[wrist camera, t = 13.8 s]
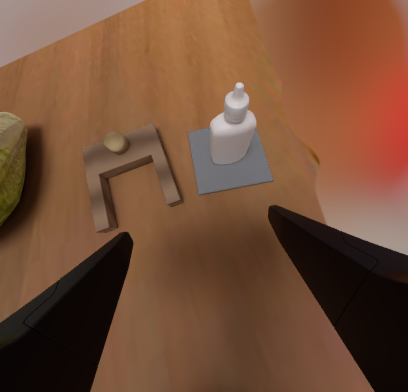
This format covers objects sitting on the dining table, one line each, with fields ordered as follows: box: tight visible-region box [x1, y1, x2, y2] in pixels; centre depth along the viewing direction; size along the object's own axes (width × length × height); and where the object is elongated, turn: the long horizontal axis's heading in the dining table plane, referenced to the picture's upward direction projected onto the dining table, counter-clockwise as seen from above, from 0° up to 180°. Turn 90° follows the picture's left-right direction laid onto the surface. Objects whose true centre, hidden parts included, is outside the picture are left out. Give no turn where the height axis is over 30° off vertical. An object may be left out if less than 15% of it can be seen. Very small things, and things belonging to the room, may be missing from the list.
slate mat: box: [188, 128, 273, 195], centre depth 25 cm, size 12×12×1 cm
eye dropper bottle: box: [210, 83, 256, 165], centre depth 19 cm, size 4×6×12 cm
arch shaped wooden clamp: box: [82, 123, 183, 233], centre depth 23 cm, size 15×13×4 cm
